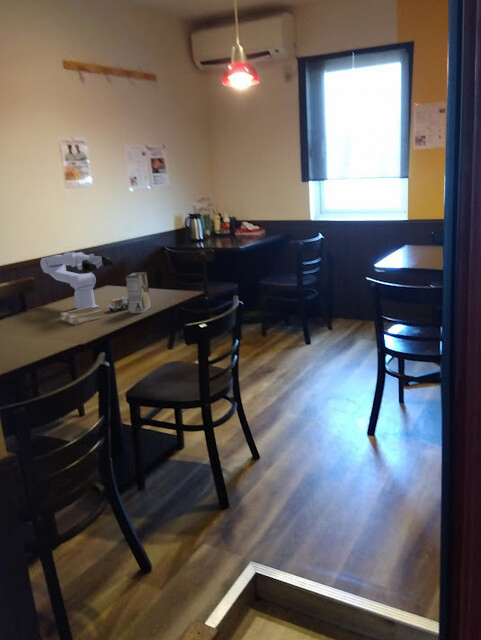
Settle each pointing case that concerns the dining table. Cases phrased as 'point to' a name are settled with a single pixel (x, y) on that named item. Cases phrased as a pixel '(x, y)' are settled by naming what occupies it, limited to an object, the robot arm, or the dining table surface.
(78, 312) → the dock bay
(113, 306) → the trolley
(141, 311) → the coffee box
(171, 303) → the dining table surface
